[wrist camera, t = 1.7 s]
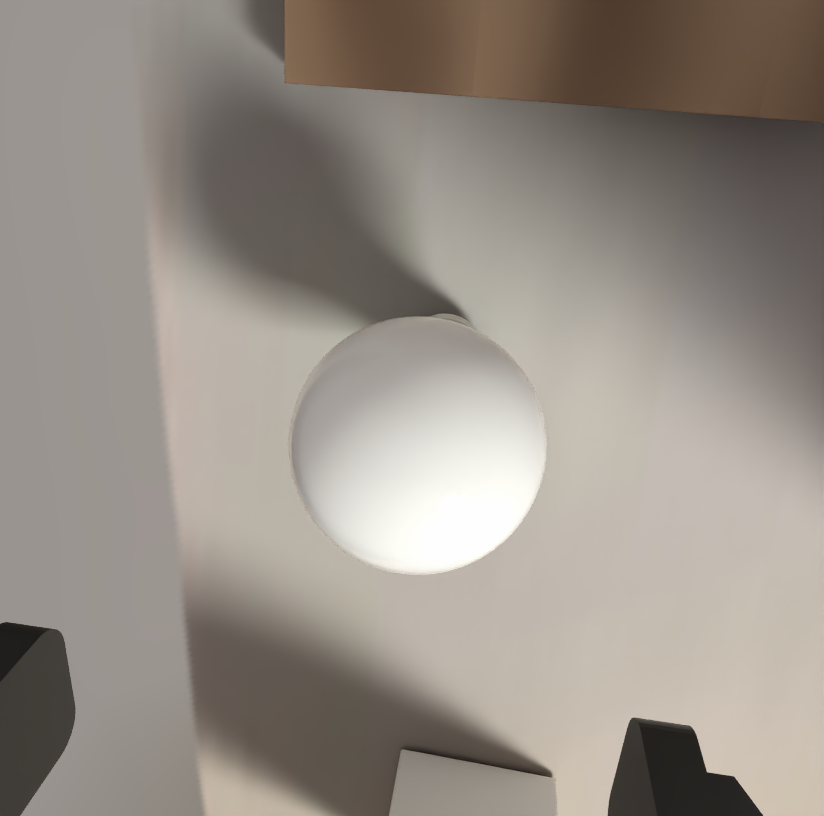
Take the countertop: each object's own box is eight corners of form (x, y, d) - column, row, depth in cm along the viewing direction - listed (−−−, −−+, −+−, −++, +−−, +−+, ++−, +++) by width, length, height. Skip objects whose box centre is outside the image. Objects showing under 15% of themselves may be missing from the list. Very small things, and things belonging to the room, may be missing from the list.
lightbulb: (427, 214, 24) (358, 303, 14) (578, 331, 24) (618, 495, 14) (323, 358, 26) (200, 523, 16) (463, 459, 27) (429, 676, 17)
